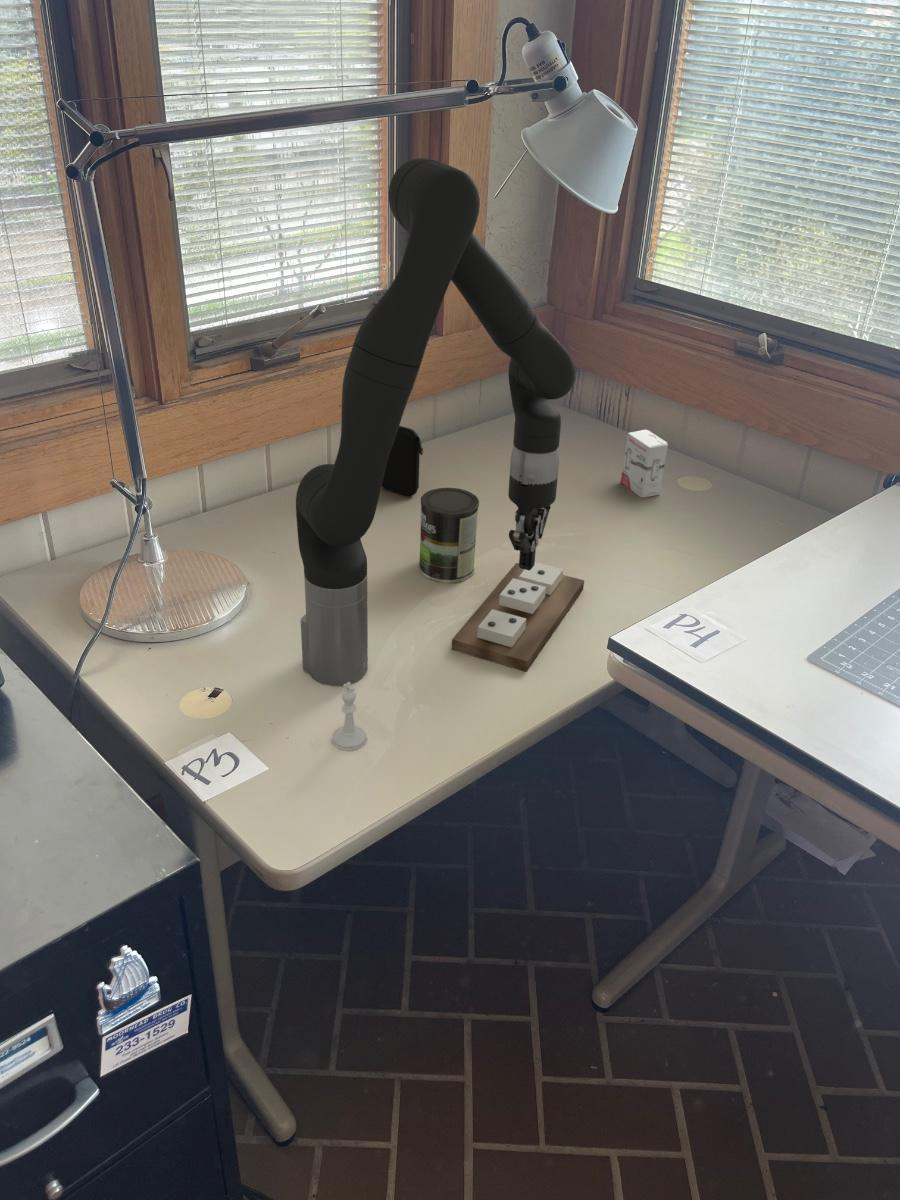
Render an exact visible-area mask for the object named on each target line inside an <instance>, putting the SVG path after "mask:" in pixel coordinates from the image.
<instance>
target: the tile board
mask: <svg viewBox="0 0 900 1200" xmlns="http://www.w3.org/2000/svg"><path fill="white" fill-rule="evenodd" d="M524 570H525V569H521V568H520V567H519V562H515V564H514V565H513V566H512V567H511V568H510V570H508V572H507V574H505V576H504V577H503V578H502V579H501V580H500V582H499V583H498V584H497V585H496V586H495V588H494V589H493V590H492V591H491V592H490V594H489V595H487V597H486V598H485V599H484V601H483V602H482V603H481V604H480V605H479V606H478V608H477V609H476V610H474V611H475V612H473V614H472V615H471V616H470V617H469V618H468V620H467V621H466V622H465V623H464V625H463V626H462V627H461V628H460V629H459V630H458V632H456V634H455V635H454V636H453V637H452V639H451V651H454V652H458V653H461V654H465V655H469V656H472V657H476V658H478V659H481V660H485V661H489V662H492V663H494V664H495V663H496V664H498V665H501V666H505V667H509V668H513V669H516V670H518V671H522V672H526V673H527V672H528V671H529V669H530V668H531V667H532V665H533V664H534V662H535V660H536V659H537V658H538V657H539V655H540V653H541V652H542V650H543V649H544V648H545V646H546V645H547V643H548V642H549V640H550V639H551V637H552V636H553V634H554V633H555V632H556V630H557V629H558V627H559V626H560V624H561V623H562V621H563V620H564V619H565V617H566V615H567V614H568V613H569V611H570V610H571V608H572V606H573V605H574V604H575V602H576V601H577V600H578V598H579V597H580V595H581V594H582V592H583V591H584V585H585V579H581V578H577V577H574V576H570V575H565V574H563V576H562V580H561V581H560V583H559V584H558V585H557V587H556V588H555V589H554V591H553V592H552V594H551V595H549V594H545V598H544V599H543V601H542V602H541V603H540V605H539V606H538V607H537V609H536V610H535V611H534V613H533V614H531V613H527V612H523V611H520V610H516V609H513V608H509V607H505V606H502V605H499V598H500V594H501V592H502V591H503V590H504V589H505V588H506V586H507V585H508V584H509V583H510V581H511V580H512V579H513V578H514V579H518V580H519V576H520V575H521V573H522V572H523V571H524ZM492 609H493V610H497V611H501V612H504V613H508V614H511V615H515V616H519V617H522V618H526V628H525V630H524V632H523V633H522V634H521V636H520V637H519V638H518V640H517V641H516V642H515V644H514V645H513V646H512V647H508V646H505V645H502V644H498V643H495V642H491V641H488V640H484V639H481V638H477V631H478V626H479V625H480V624H481V622H482V621H483V620H484V619H485V618H486V616H487V615H488V614H489V613H490V611H491V610H492Z"/></svg>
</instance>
